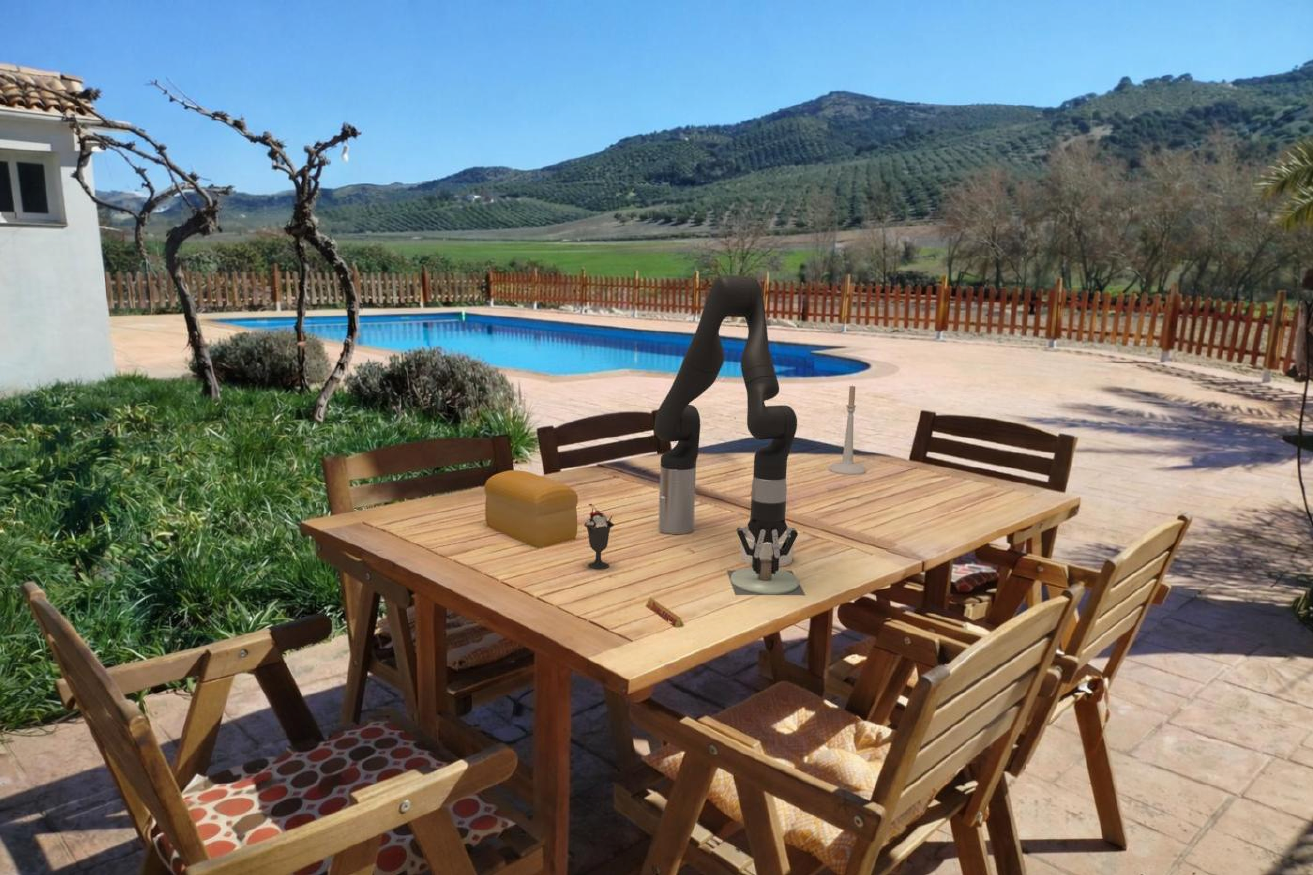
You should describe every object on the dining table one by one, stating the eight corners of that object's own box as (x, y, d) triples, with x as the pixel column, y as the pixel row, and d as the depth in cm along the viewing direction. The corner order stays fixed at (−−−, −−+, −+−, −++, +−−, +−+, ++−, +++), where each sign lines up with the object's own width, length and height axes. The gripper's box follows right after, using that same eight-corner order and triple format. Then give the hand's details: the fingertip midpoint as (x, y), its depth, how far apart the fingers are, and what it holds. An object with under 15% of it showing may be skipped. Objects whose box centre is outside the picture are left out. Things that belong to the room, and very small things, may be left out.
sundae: (577, 565, 202) (578, 503, 199) (599, 559, 207) (600, 498, 204) (596, 573, 197) (596, 509, 195) (618, 566, 202) (619, 503, 199)
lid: (735, 594, 185) (736, 573, 184) (726, 570, 200) (727, 550, 199) (805, 594, 186) (806, 573, 185) (791, 570, 200) (792, 550, 200)
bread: (578, 539, 222) (579, 481, 219) (536, 549, 214) (536, 489, 211) (524, 517, 240) (524, 464, 237) (483, 526, 231) (482, 471, 228)
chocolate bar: (674, 629, 169) (674, 618, 168) (644, 608, 179) (644, 598, 178) (685, 627, 170) (685, 616, 169) (655, 606, 180) (655, 596, 180)
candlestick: (821, 467, 308) (826, 382, 302) (854, 465, 312) (859, 382, 306) (839, 475, 296) (845, 388, 290) (873, 473, 300) (879, 387, 294)
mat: (735, 596, 185) (735, 594, 185) (726, 572, 200) (726, 570, 200) (805, 596, 186) (805, 594, 186) (791, 572, 201) (791, 570, 201)
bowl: (744, 568, 203) (745, 543, 201) (738, 551, 214) (738, 528, 213) (796, 568, 203) (797, 544, 202) (786, 552, 215) (787, 528, 214)
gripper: (738, 501, 185) (735, 578, 188) (804, 501, 186) (800, 579, 189) (734, 492, 192) (731, 566, 196) (797, 492, 193) (793, 567, 196)
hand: (765, 572), depth 192 cm, fingers closed on lid, 3 cm apart
